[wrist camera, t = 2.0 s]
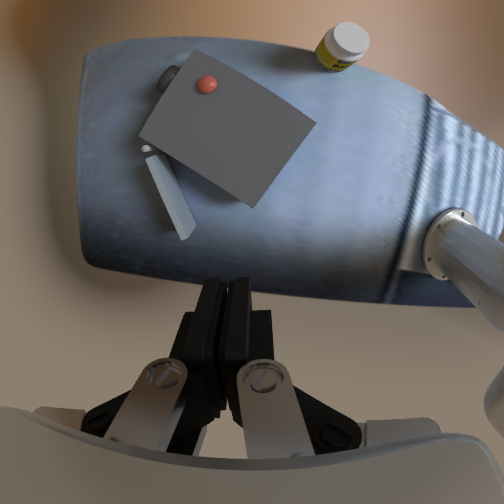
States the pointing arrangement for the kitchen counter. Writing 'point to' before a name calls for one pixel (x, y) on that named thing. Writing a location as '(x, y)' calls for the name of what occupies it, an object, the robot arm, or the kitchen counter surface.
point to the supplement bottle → (342, 47)
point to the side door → (171, 195)
